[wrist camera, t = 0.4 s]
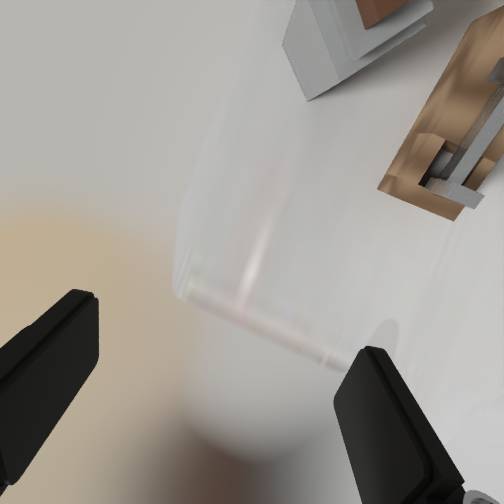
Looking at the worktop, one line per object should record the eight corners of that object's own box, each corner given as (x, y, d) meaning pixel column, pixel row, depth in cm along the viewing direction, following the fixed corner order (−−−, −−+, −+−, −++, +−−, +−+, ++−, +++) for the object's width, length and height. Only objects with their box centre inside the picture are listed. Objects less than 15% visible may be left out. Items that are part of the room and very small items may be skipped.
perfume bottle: (281, 44, 30) (316, -61, 14) (335, 6, 29) (444, -161, 13) (307, 101, 33) (361, 69, 16) (358, 68, 31) (473, -3, 15)
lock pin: (492, 81, 28) (533, 73, 24) (519, 96, 28) (563, 89, 24) (422, 189, 32) (447, 197, 28) (447, 200, 33) (474, 209, 29)
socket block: (472, 21, 30) (533, -10, 23) (534, 56, 31) (608, 35, 24) (376, 189, 37) (402, 200, 31) (429, 211, 39) (465, 226, 32)
